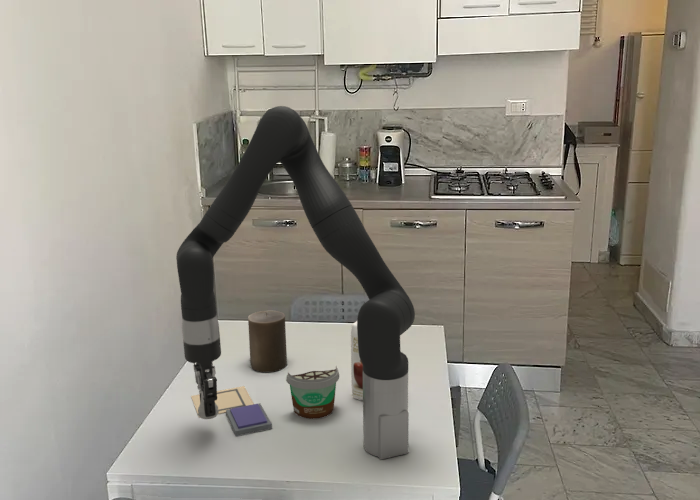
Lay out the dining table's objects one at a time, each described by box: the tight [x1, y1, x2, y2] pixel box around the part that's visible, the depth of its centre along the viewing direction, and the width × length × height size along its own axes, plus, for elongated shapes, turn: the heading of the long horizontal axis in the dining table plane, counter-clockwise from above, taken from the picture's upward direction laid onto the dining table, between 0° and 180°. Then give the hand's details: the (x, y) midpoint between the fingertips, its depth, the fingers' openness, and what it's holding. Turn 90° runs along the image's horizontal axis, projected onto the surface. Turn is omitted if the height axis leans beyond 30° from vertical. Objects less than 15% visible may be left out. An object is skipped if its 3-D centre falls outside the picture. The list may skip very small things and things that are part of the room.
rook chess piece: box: [197, 384, 219, 420], centre depth 146 cm, size 4×4×8 cm
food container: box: [285, 365, 340, 420], centre depth 154 cm, size 12×6×10 cm, turn 105°
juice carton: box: [350, 320, 363, 401], centre depth 161 cm, size 8×9×19 cm
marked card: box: [190, 385, 255, 419], centre depth 162 cm, size 11×13×1 cm
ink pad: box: [225, 403, 273, 437], centre depth 153 cm, size 10×8×2 cm
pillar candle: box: [247, 309, 288, 373], centre depth 179 cm, size 10×10×15 cm
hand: (208, 410), depth 147 cm, fingers closed on rook chess piece, 4 cm apart
